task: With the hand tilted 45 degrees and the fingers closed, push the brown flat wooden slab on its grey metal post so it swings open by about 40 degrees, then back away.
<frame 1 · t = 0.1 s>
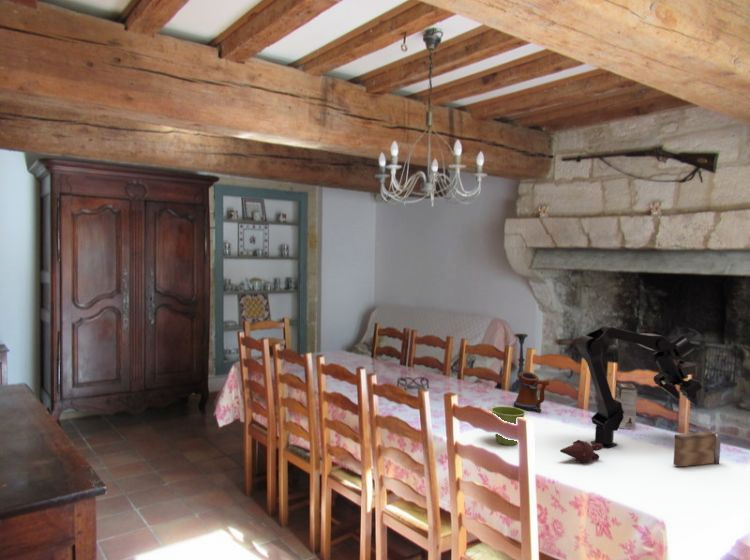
hand: (687, 402, 201), 15 cm above the table, tool tilted 35°, fingers open, 9 cm apart
plant pot: (506, 442, 196), on the table
brown flat wooden slab: (694, 449, 180), point 5 cm above the table, hinge at 0.0°
gate post: (714, 462, 182), on the table
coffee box: (624, 426, 221), on the table
mug: (532, 410, 240), on the table
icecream: (580, 462, 180), on the table
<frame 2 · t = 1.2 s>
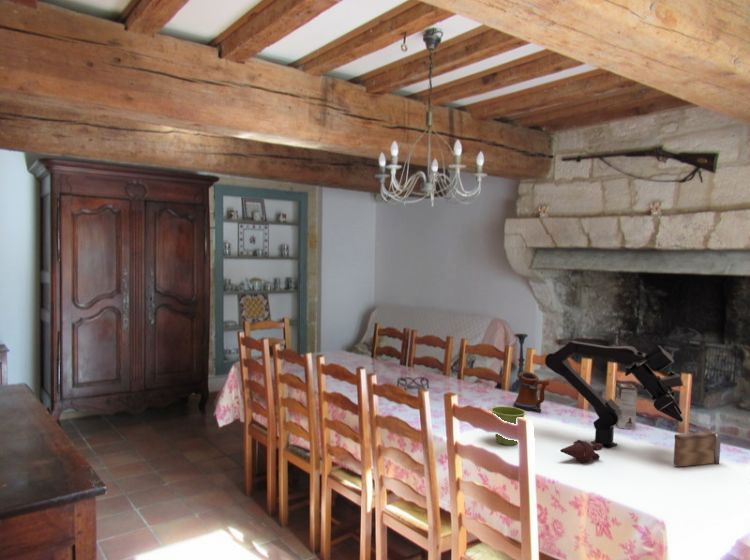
hand: (681, 417, 185), 14 cm above the table, tool tilted 40°, fingers open, 9 cm apart
nothing on the table moved.
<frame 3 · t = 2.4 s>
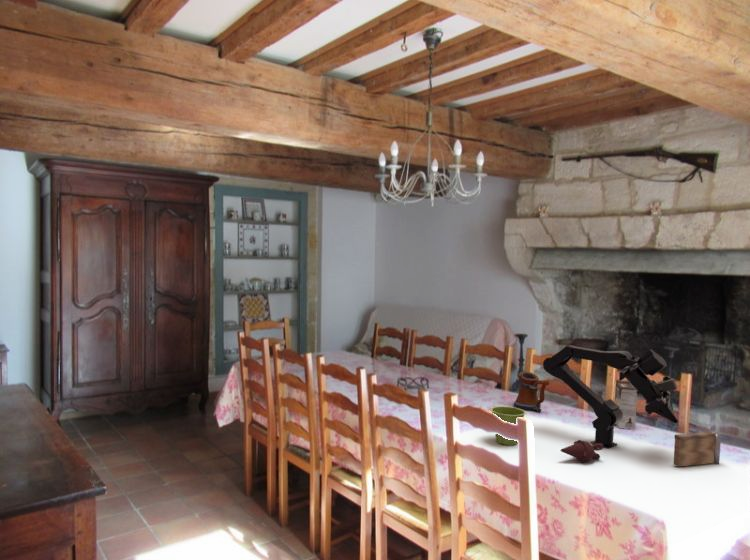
hand: (677, 422, 183), 13 cm above the table, tool tilted 45°, fingers closed
nothing on the table moved.
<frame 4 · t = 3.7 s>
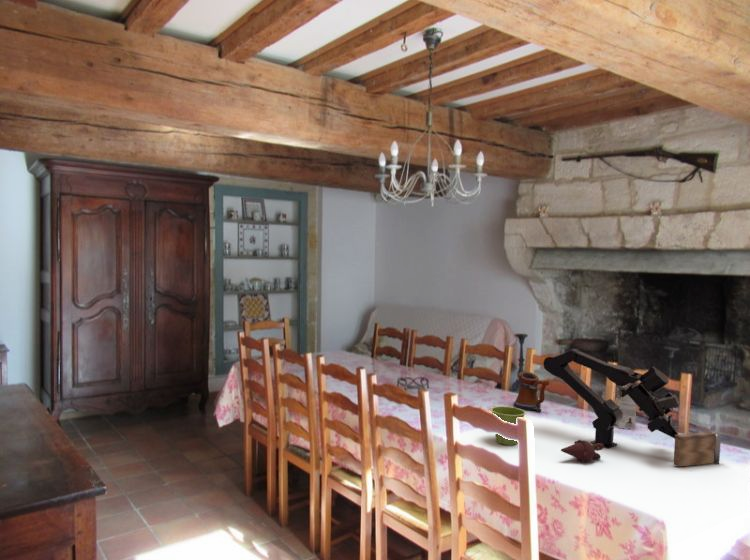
hand: (679, 439, 183), 7 cm above the table, tool tilted 45°, fingers closed
nothing on the table moved.
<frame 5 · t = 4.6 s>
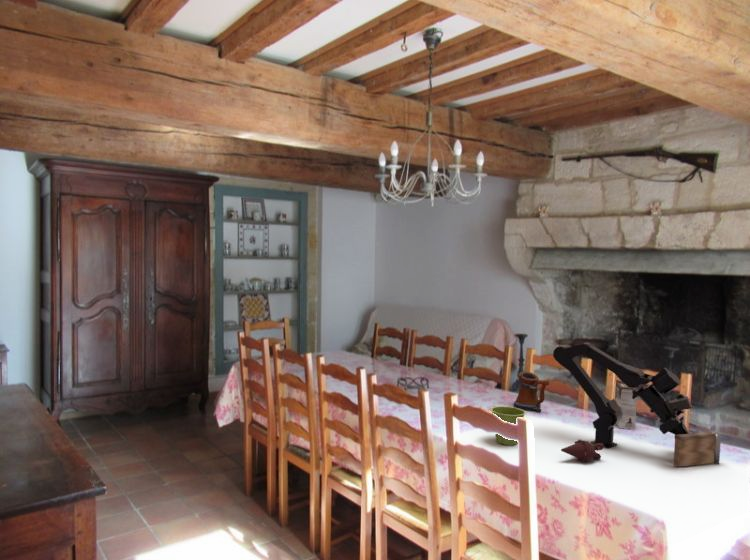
hand: (691, 441, 181), 7 cm above the table, tool tilted 45°, fingers closed
brown flat wooden slab: (694, 449, 180), point 5 cm above the table, hinge at 0.1°, touching gripper
everything else where it was.
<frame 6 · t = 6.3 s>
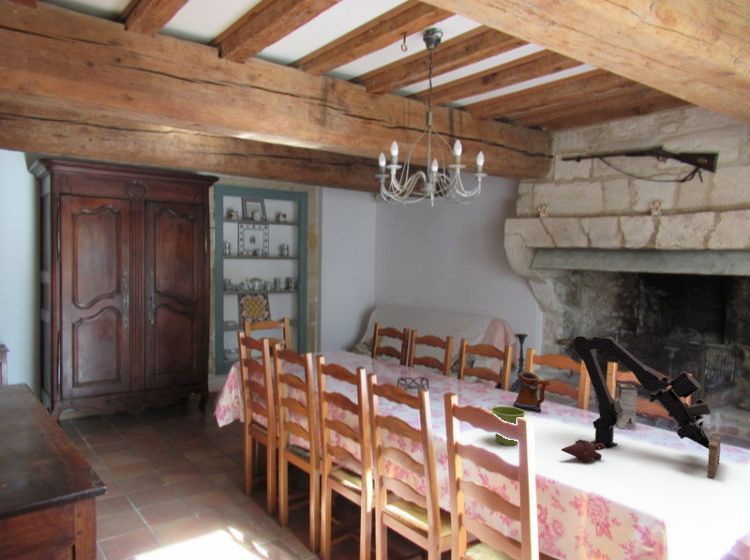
hand: (710, 447, 178), 7 cm above the table, tool tilted 45°, fingers closed on brown flat wooden slab, 2 cm apart
brown flat wooden slab: (713, 454, 175), point 5 cm above the table, hinge at 37.8°, touching gripper
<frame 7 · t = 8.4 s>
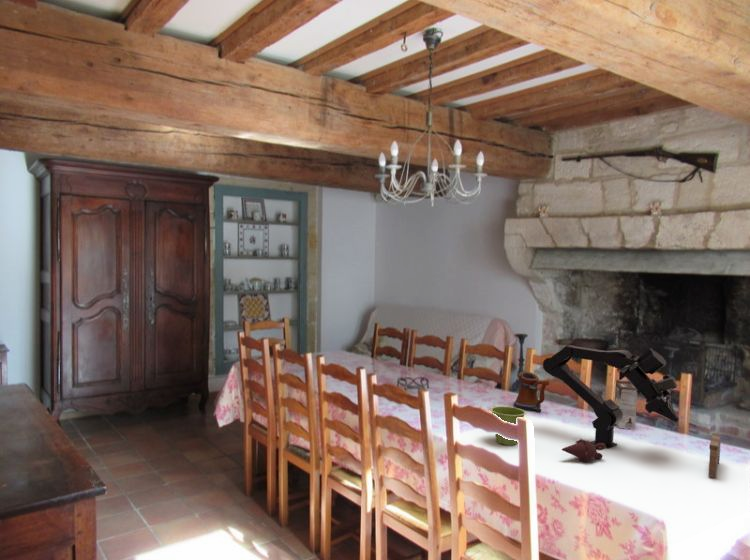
hand: (677, 420, 183), 13 cm above the table, tool tilted 45°, fingers closed
brown flat wooden slab: (714, 454, 175), point 5 cm above the table, hinge at 38.9°
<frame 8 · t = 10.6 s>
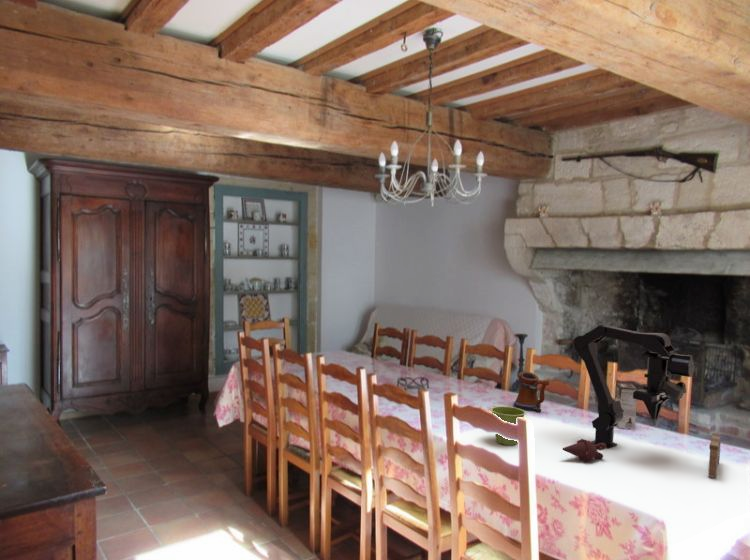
hand: (654, 418, 185), 13 cm above the table, tool pointing down, fingers closed
at the end: brown flat wooden slab at +39° (first picture: +0°) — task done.
